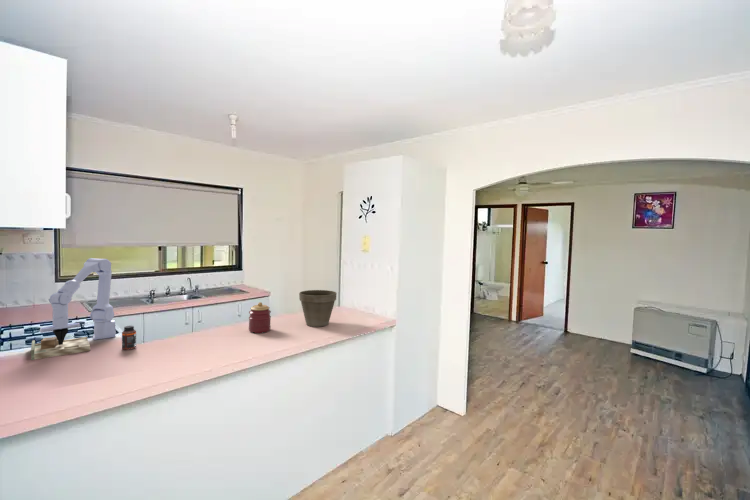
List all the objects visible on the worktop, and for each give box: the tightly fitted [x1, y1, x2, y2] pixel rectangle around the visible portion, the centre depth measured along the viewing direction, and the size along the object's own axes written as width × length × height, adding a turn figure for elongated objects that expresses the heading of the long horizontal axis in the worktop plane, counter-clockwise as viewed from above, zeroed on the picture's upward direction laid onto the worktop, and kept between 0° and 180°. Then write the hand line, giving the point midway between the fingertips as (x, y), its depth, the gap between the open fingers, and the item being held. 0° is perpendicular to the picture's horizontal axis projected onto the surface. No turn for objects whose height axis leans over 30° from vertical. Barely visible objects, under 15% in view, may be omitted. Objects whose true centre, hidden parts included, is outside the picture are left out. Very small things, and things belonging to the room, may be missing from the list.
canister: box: [248, 301, 272, 334], centre depth 219 cm, size 13×13×18 cm
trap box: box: [30, 336, 91, 361], centre depth 175 cm, size 21×18×4 cm
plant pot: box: [298, 289, 337, 328], centre depth 239 cm, size 25×25×22 cm
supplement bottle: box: [121, 325, 137, 351], centre depth 181 cm, size 6×6×11 cm
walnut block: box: [40, 336, 58, 349], centre depth 173 cm, size 5×5×4 cm
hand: (60, 344), depth 175 cm, fingers closed
